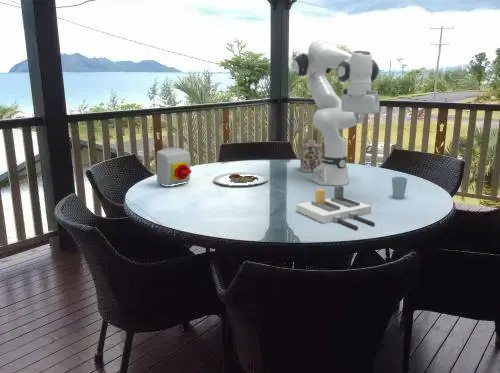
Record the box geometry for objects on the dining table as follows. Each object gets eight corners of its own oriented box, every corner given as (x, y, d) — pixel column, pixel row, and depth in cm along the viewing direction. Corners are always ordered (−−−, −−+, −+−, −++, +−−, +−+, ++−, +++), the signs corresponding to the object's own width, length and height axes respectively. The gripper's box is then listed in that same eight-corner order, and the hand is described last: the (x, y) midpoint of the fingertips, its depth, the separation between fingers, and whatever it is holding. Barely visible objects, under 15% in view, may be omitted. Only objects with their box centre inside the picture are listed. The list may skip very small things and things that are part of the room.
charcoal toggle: (334, 200, 177) (334, 186, 176) (340, 199, 179) (340, 185, 177) (337, 201, 176) (337, 187, 174) (343, 200, 177) (343, 186, 176)
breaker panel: (296, 211, 174) (296, 201, 173) (341, 202, 185) (342, 193, 184) (323, 223, 159) (323, 212, 158) (370, 213, 169) (371, 203, 168)
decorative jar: (322, 172, 246) (322, 141, 242) (302, 172, 246) (302, 142, 242) (319, 168, 258) (319, 139, 253) (300, 168, 258) (300, 139, 254)
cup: (400, 194, 195) (401, 176, 193) (409, 198, 189) (410, 179, 187) (387, 196, 193) (389, 177, 191) (396, 200, 187) (397, 180, 185)
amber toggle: (315, 204, 172) (315, 190, 171) (321, 203, 174) (322, 189, 172) (318, 205, 171) (318, 191, 169) (324, 204, 172) (325, 190, 171)
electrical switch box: (171, 193, 215) (171, 156, 208) (156, 184, 225) (156, 149, 218) (195, 188, 224) (196, 152, 217) (180, 180, 234) (180, 145, 227)
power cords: (332, 221, 161) (333, 216, 160) (353, 216, 166) (353, 211, 165) (354, 230, 150) (355, 225, 150) (376, 225, 155) (376, 220, 154)
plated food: (249, 191, 209) (249, 184, 208) (202, 184, 224) (202, 178, 224) (278, 179, 233) (278, 173, 232) (234, 173, 249) (233, 168, 248)
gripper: (384, 90, 171) (382, 124, 174) (350, 90, 188) (349, 121, 191) (372, 91, 168) (370, 125, 171) (339, 90, 185) (338, 122, 189)
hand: (359, 123), depth 181 cm, fingers closed
